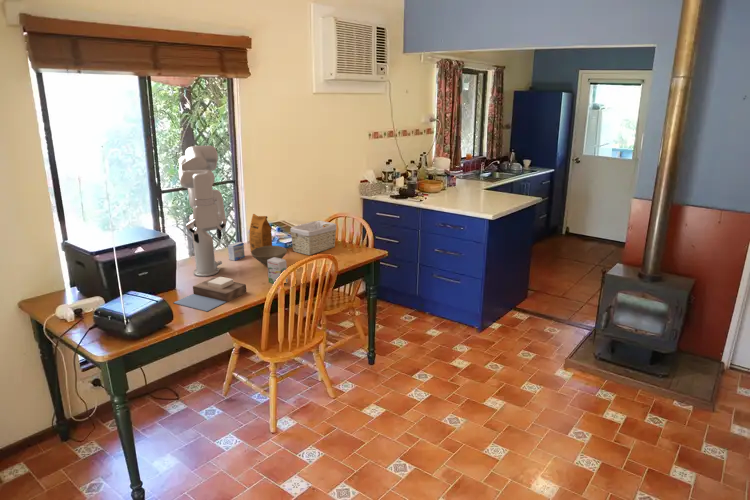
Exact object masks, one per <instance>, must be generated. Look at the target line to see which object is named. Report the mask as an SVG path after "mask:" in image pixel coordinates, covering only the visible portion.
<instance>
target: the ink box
mask: <svg viewBox="0 0 750 500" xmlns="http://www.w3.org/2000/svg"><path fill="white" fill-rule="evenodd" d="M267 264H268V265H267V276H268V283H270V284H273V283H274V282H275V281H276V279H277V278H278V277H279V276H280V274H281V273H282V272H283V271H284V270H286V269H288V268H287V259H284V258H282V259H280V258H276V257H273V258H271V259H268V260H267ZM286 282H287V283H288V278H287V279H286Z"/></svg>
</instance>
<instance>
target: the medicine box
mask: <svg viewBox="0 0 750 500" xmlns="http://www.w3.org/2000/svg"><path fill="white" fill-rule="evenodd" d="M244 243H245V242H241V241H237V242H234V243H232V244H228V245H227V253H228V260H230V261H235V262H236V261H239V260H242V259H243V258H245V256H246V253H245V246H244V245H245V244H244Z"/></svg>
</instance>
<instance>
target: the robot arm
mask: <svg viewBox="0 0 750 500" xmlns="http://www.w3.org/2000/svg"><path fill="white" fill-rule="evenodd" d="M218 159H219V157H218V152H217V149H216V147H214V146H213V145H208V144H207V145H206V144H205V145H192V146H189V147H187V148H186V149H185V152H184V155H181V156H180V157H179V158H178V165H179V168H178V179H179V183H180V185H181V187H182V188H184V189H187V191H188V192H187V194H188V201H189V206H190V208H191V209H192V213H191V214H190V215H189V217H188V223H186V224H185V226H186V228H187V229H188V231H190V232H191V235H192V243H193V244H192V245H193V251H194V261H195V269H194V270H193V271H192V273H193V275H194V276H197V277H209V276H214V275H217V274H218V273H219V272H220V269H219V267H218V266H220V265H222V264H223V262H222V261H221V260H219V261H216V258H215V257H216V256H215V248H214V247H215V246H214V240H213V237H212V235H211V234H209V233H208V231H216V237H217V239H218V240H222V237H223V233H222V231H223V229H225V227H226V226H227V219H226V214H225V213H226V212H225V205H224V198H223V194H222V193H221V191H220V190H218V189H213V185H214V183H215V174H214V173H213V171H215V170H216V169H217V165H218Z"/></svg>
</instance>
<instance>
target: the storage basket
mask: <svg viewBox="0 0 750 500" xmlns="http://www.w3.org/2000/svg"><path fill="white" fill-rule="evenodd" d="M336 232H337V223H336V222H335V223H334V222H329V221H324V220H314V221H310V222H305V223H302V224H297V225H294V226H292V227H290V237H291V243H292V245H291V246H292V251H293V252H294V253H295V252H296V253H298V254H303V255H306V256H311V255H314V254H318V253H320V252H325V251H327V250H329V249H333V248H335V245H336V234H337V233H336Z"/></svg>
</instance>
